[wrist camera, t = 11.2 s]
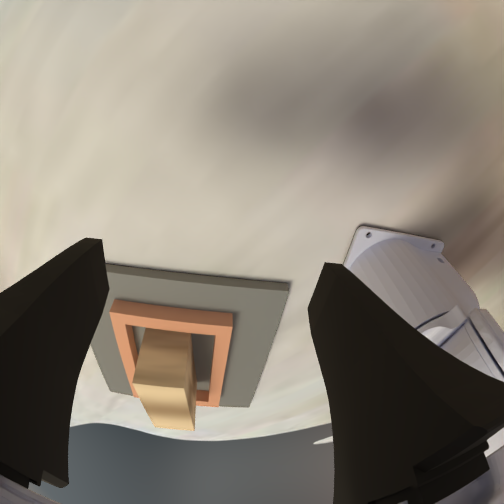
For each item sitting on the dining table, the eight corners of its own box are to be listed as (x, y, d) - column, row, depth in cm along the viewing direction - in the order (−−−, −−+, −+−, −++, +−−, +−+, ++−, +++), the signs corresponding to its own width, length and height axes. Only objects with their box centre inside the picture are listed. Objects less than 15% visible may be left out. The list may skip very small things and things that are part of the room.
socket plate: (287, 283, 23) (292, 304, 21) (248, 400, 33) (249, 417, 31) (71, 259, 20) (59, 277, 18) (111, 385, 31) (107, 400, 29)
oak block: (197, 382, 29) (194, 430, 24) (161, 379, 28) (154, 426, 23) (190, 329, 24) (183, 388, 19) (146, 326, 23) (132, 383, 18)
